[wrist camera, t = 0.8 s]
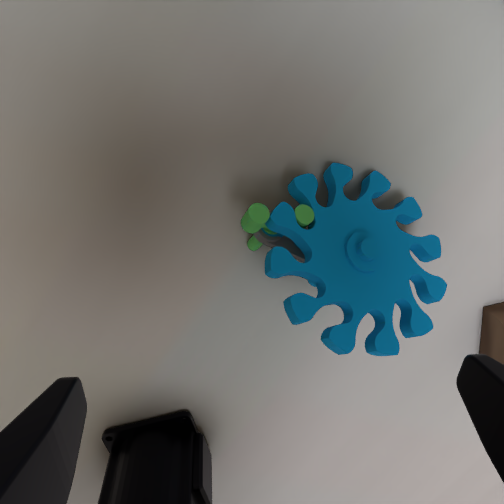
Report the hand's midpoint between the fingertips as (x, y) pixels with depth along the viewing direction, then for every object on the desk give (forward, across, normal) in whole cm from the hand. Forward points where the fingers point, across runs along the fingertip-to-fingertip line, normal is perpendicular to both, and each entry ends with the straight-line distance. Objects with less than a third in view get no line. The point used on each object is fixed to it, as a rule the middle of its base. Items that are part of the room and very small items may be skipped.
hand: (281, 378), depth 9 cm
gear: (+14, -5, +2) cm, 15 cm away
